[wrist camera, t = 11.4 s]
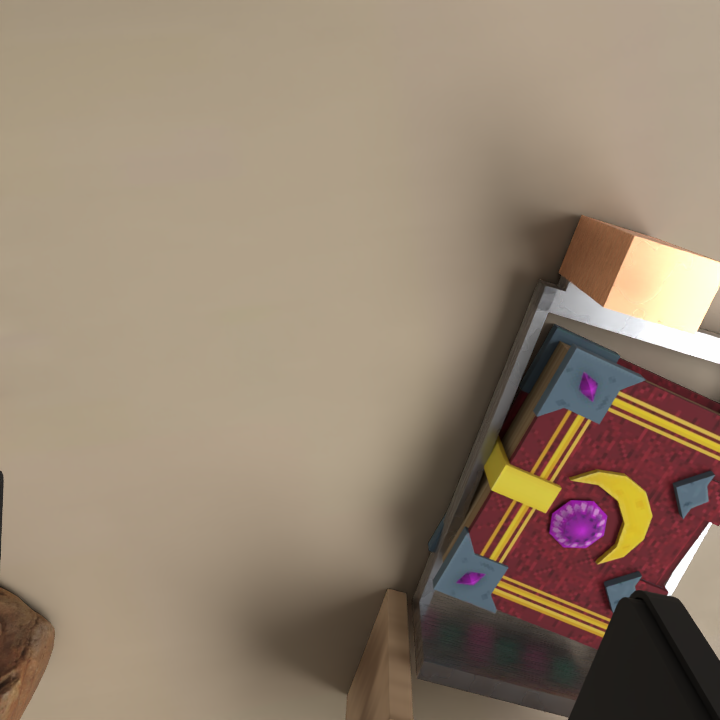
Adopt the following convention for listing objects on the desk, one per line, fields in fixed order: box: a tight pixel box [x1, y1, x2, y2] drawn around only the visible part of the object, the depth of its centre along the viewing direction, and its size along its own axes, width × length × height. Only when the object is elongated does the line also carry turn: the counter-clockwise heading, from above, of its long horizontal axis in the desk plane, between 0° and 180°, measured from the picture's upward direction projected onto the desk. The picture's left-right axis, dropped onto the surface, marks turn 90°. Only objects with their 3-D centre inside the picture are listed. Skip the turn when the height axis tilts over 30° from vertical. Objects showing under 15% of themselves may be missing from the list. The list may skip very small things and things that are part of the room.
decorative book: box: [428, 324, 720, 650], centre depth 35 cm, size 11×16×5 cm
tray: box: [412, 215, 720, 717], centre depth 33 cm, size 24×14×7 cm, turn 164°
